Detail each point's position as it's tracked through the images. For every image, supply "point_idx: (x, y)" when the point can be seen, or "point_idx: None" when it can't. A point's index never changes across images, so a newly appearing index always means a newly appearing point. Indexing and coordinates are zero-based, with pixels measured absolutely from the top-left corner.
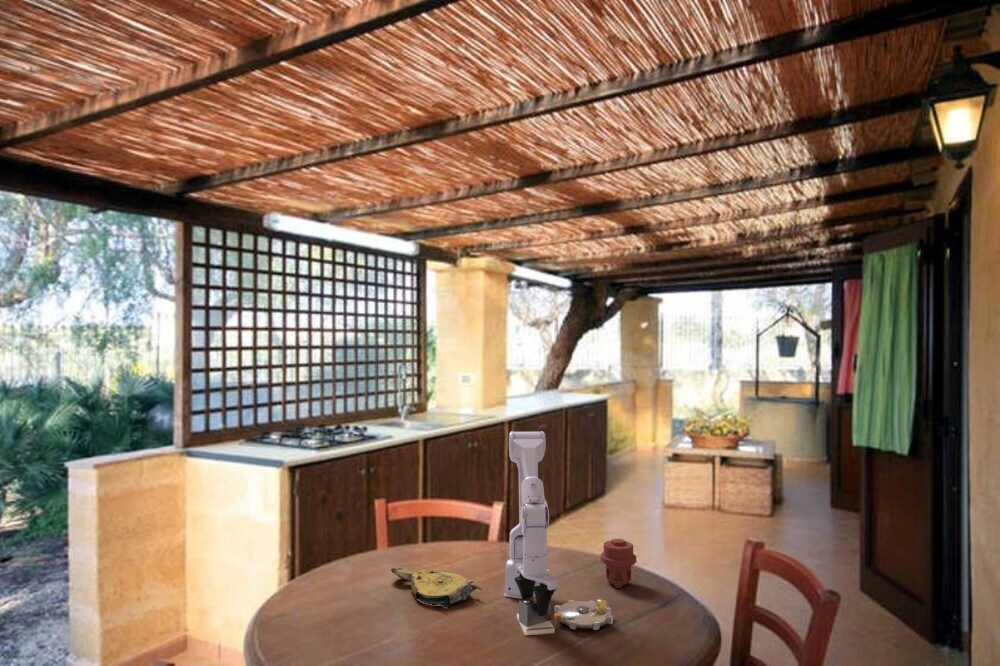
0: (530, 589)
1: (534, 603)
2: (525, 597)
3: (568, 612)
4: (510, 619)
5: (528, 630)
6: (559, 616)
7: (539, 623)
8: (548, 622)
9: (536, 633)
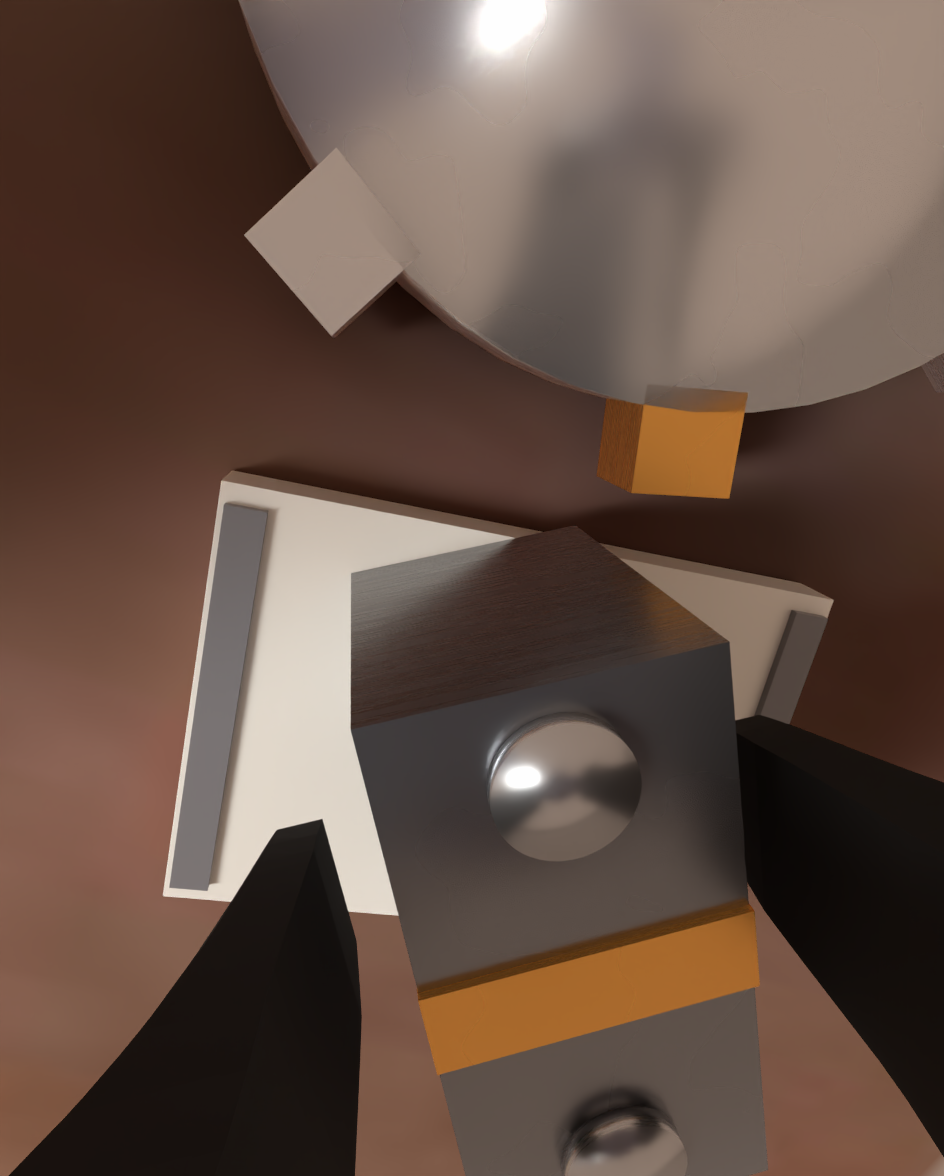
0: (290, 1153)
1: (751, 1038)
2: (339, 1099)
3: (697, 195)
4: (202, 938)
5: None
6: (730, 439)
7: None
8: None
9: None
